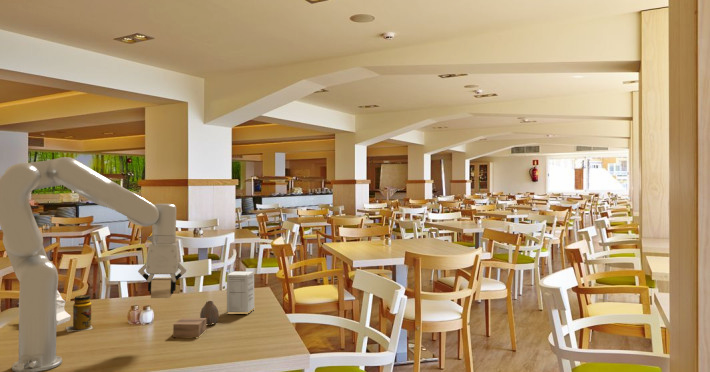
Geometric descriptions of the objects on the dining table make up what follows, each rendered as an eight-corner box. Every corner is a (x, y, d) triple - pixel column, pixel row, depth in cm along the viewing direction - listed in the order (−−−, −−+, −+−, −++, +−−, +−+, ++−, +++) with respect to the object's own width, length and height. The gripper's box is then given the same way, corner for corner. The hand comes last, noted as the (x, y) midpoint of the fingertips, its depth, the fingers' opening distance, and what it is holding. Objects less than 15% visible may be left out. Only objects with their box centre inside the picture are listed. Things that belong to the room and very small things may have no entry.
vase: (196, 325, 201) (196, 302, 201) (209, 321, 207) (209, 298, 207) (209, 327, 198) (209, 304, 198) (222, 323, 204) (222, 300, 204)
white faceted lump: (53, 320, 212) (63, 285, 214) (72, 329, 204) (83, 293, 206) (21, 318, 202) (32, 282, 204) (39, 328, 194) (51, 290, 196)
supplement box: (254, 310, 226) (255, 271, 226) (248, 315, 216) (248, 274, 216) (233, 309, 227) (233, 270, 227) (225, 314, 217) (226, 274, 217)
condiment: (93, 329, 194) (93, 296, 194) (67, 332, 189) (67, 299, 189) (90, 324, 200) (91, 293, 200) (65, 327, 195) (66, 295, 196)
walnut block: (198, 338, 184) (198, 324, 184) (173, 338, 184) (173, 324, 184) (206, 331, 193) (206, 318, 193) (182, 331, 193) (182, 317, 193)
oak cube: (169, 298, 174) (170, 280, 174) (150, 298, 173) (151, 280, 173) (172, 294, 180) (172, 277, 180) (153, 294, 179) (154, 277, 179)
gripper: (134, 240, 171) (132, 295, 171) (189, 241, 175) (187, 295, 175) (138, 238, 179) (136, 291, 178) (191, 239, 182) (189, 291, 182)
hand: (161, 292), depth 176 cm, fingers closed on oak cube, 6 cm apart
